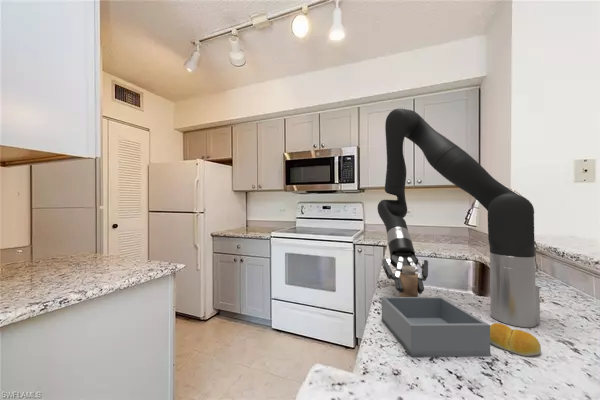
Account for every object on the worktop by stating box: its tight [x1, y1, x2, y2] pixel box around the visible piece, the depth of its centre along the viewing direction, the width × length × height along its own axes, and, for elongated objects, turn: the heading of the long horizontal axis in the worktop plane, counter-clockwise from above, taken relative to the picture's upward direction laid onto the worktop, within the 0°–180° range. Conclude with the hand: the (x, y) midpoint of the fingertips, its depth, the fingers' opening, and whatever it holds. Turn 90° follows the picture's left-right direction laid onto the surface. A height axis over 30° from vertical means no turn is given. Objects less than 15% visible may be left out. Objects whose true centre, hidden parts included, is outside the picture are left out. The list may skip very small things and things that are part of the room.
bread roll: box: [489, 322, 542, 357], centre depth 54 cm, size 8×9×4 cm
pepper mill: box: [399, 265, 419, 297], centre depth 74 cm, size 5×5×12 cm
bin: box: [381, 296, 491, 358], centre depth 58 cm, size 16×16×6 cm
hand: (410, 291), depth 72 cm, fingers closed on pepper mill, 4 cm apart
